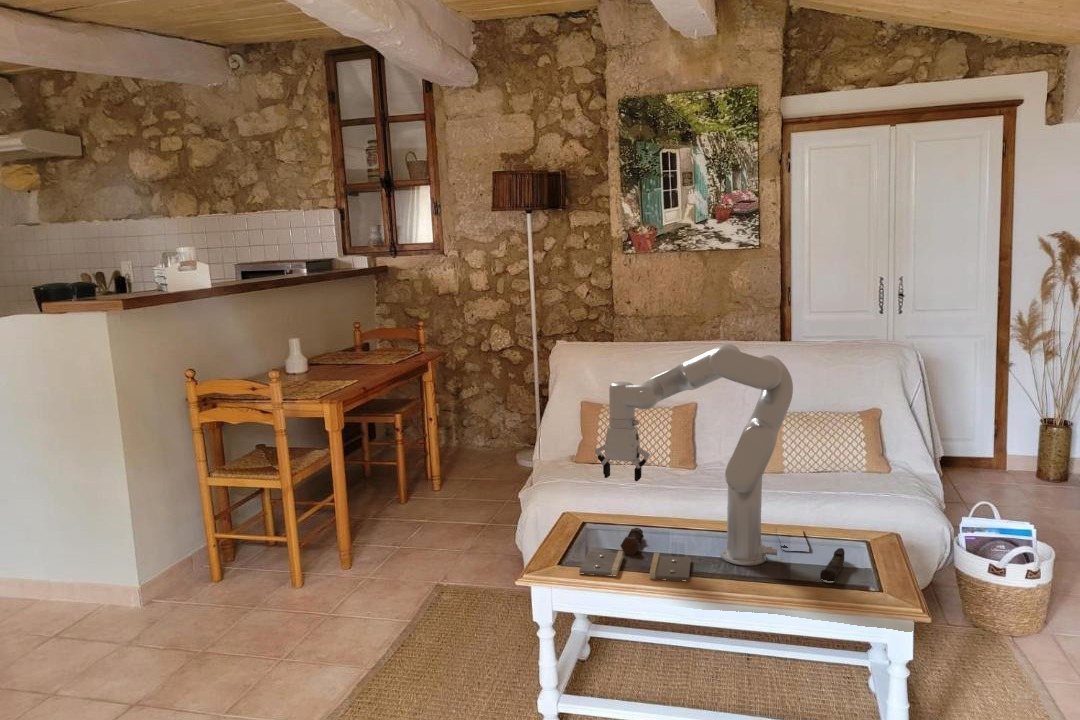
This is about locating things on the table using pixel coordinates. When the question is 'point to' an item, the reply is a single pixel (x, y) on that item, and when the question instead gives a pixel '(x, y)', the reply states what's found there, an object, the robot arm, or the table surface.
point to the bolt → (632, 541)
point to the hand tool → (833, 566)
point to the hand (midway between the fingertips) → (622, 478)
